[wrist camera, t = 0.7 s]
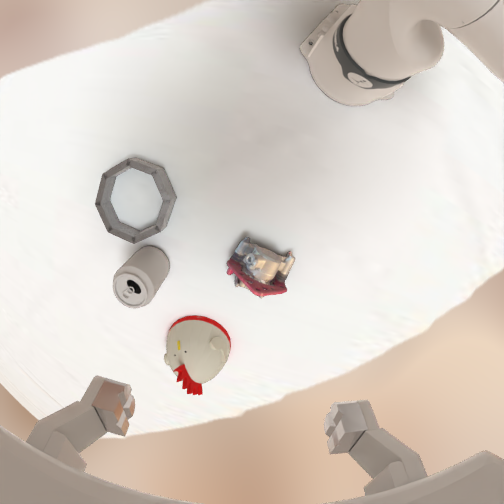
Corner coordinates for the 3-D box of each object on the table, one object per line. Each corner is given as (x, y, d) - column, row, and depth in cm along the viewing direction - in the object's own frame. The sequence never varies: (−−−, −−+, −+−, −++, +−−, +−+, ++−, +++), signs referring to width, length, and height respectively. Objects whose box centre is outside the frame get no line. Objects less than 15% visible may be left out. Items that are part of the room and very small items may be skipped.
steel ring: (118, 151, 43) (109, 151, 40) (184, 175, 45) (179, 177, 42) (99, 219, 48) (90, 224, 44) (160, 245, 50) (154, 252, 46)
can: (178, 264, 51) (159, 295, 40) (154, 287, 53) (133, 320, 42) (151, 236, 49) (124, 261, 38) (128, 261, 51) (101, 288, 40)
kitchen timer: (210, 306, 54) (198, 355, 40) (241, 353, 59) (239, 404, 45) (157, 327, 56) (135, 374, 42) (190, 369, 61) (178, 417, 47)
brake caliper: (212, 288, 50) (224, 279, 39) (235, 236, 54) (251, 214, 42) (267, 311, 52) (293, 309, 41) (286, 260, 55) (314, 245, 44)
